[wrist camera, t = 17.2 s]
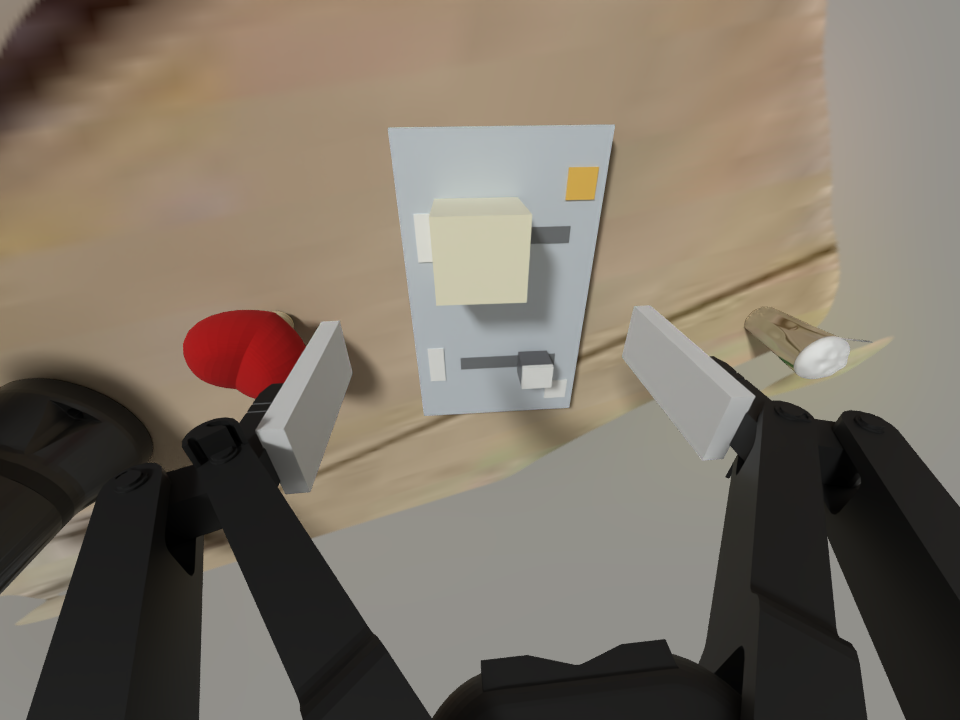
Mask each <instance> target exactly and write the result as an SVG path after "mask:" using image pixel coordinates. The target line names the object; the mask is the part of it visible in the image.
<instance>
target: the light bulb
mask: <svg viewBox="0 0 960 720" xmlns="http://www.w3.org/2000/svg"><path fill="white" fill-rule="evenodd" d="M305 348H306V346H305V344H304V343H303V341H302V339H301V338H300V336H299V335H298V334H297V332H296V331H295V330H294V323H293V320H292V319H291V318H290V317H289V316H288V315H287V314H285V313H283V312H280V311H273V312H269V311H260V310H236V311H228V312H223V313H219V314H216V315H212V316H210V317H208V318H206V319H204V320H202V321H200V322H198V323H197V324H196V325H195V326H194V327H193V328H192V329H190V330H189V332H188V333H187V336H186V338H185V340H184V343H183V354H184V358H185V360H186V363H187V365H188V367H189V368H190V369H191V371H192V372H193V373H194V374H195V375H196V376H197V377H198V378H200V379H201V380H203V381H205V382H207V383H209V384H212V385H215V386H219V387H224V388H231V389H237V390H239V391H240V392H241V393H243V394H245V395H247V396H249V397H252V398H255V399H256V398H257V396H258V395H259V393H260V392H262V391H263V390H264V389H266V388H267V387H268V386H269V385H271V384H276V383H284V382H285V381H286V379H287V377H288V376H289V374H290V373H291V371H292V369H293V368H294V366H295V364H296V363H297V361H298V359H299V358H300V356H301V354H302V353H303V351H304V350H305Z"/></svg>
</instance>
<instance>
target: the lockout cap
mask: <svg viewBox="0 0 960 720" xmlns="http://www.w3.org/2000/svg"><path fill="white" fill-rule="evenodd" d="M429 225H430V237H431V249H432V261H433V273H434V285H435V296H436V306H443V305H473V304H502V303H527V290H528V274H529V259H530V243H531V228H532V213H531V212H530V211H529V210H528V209H527V208H526V206H525V205H524V204H523V203H522V202H521V200H520V199H519V198H518V197H492V198H446V199H434V201H433V204H432V208H431V211H430V215H429Z"/></svg>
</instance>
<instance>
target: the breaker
mask: <svg viewBox="0 0 960 720" xmlns="http://www.w3.org/2000/svg"><path fill="white" fill-rule="evenodd" d="M553 369H554V367H553V364H552V362H551V360H550V357H549V355H548V353H547V350H546V351H525V352H518V362H517V373H518V377H519V381H520V384H521V388H522V389H533V388H551V385H552V377H553Z"/></svg>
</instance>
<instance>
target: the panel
mask: <svg viewBox="0 0 960 720" xmlns="http://www.w3.org/2000/svg"><path fill="white" fill-rule="evenodd" d="M614 128H615V125H538V126H463V127H391V128H388V133H389V141H390V149H391V157H392V165H393V173H394V181H395V189H396V197H397V205H398V213H399V220H400V228H401V236H402V244H403V252H404V260H405V268H406V276H407V284H408V292H409V299H410V307H411V315H412V323H413V331H414V339H415V347H416V355H417V363H418V371H419V379H420V386H421V394H422V402H423V410H424V416H431V415H448V414H466V413H484V412H501V411H519V410H537V409H554V408H569V405H570V399H571V393H572V387H573V381H574V374H575V368H576V362H577V356H578V350H579V344H580V337H581V331H582V325H583V319H584V313H585V307H586V301H587V294H588V288H589V282H590V276H591V270H592V264H593V257H594V251H595V245H596V239H597V233H598V227H599V221H600V214H601V208H602V202H603V196H604V190H605V184H606V177H607V171H608V165H609V159H610V153H611V147H612V140H613V134H614ZM492 197H518V198H519V199H520V200H521V202H522V203H523V204H524V205H525V206H526V208H527V209H528V210H529V211H530V212H531V213H532V228H531V243H530V259H529V274H528V290H527V303H502V304H473V305H443V306H436V296H435V285H434V273H433V261H432V249H431V237H430V225H429V215H430V211H431V208H432V204H433V201H434V199H446V198H492ZM546 350H547V353H548V355H549V357H550V360H551V362H552V364H553V367H554V369H553V377H552V385H551V388H533V389H522V388H521V384H520V381H519V377H518V373H517V362H518V352H525V351H546Z"/></svg>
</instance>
